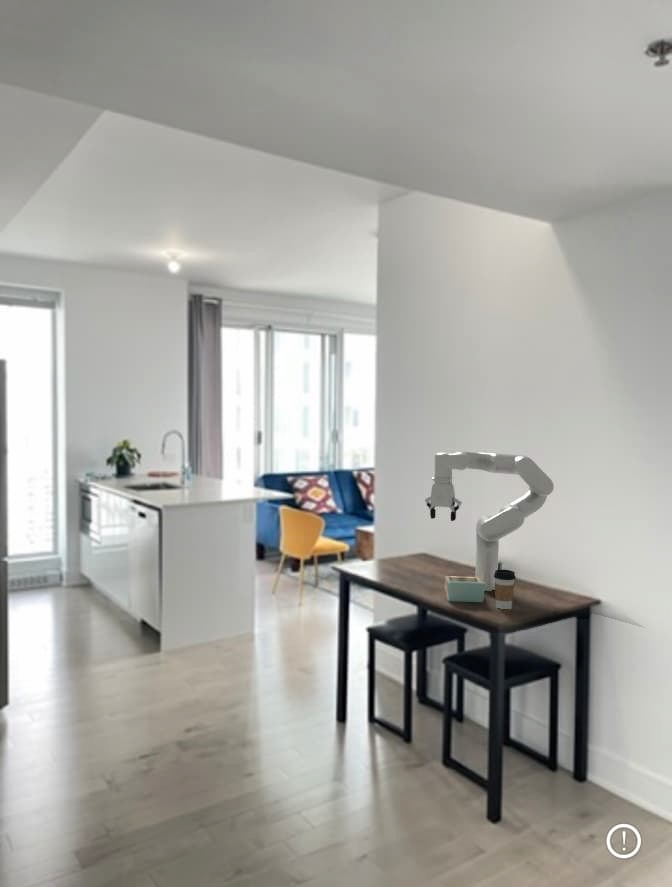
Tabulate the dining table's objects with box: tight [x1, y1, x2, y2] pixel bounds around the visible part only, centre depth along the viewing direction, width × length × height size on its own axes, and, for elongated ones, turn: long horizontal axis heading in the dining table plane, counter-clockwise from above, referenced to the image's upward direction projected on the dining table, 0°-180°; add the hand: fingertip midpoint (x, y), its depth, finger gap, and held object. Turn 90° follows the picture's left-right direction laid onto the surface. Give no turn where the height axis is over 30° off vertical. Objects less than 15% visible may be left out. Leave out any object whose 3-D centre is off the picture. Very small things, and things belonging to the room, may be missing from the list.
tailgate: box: [447, 581, 485, 603], centre depth 273 cm, size 14×1×9 cm, turn 87°
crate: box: [444, 575, 481, 600], centre depth 281 cm, size 14×12×7 cm
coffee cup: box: [494, 569, 516, 609], centre depth 266 cm, size 8×8×15 cm
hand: (442, 519), depth 297 cm, fingers open, 9 cm apart
